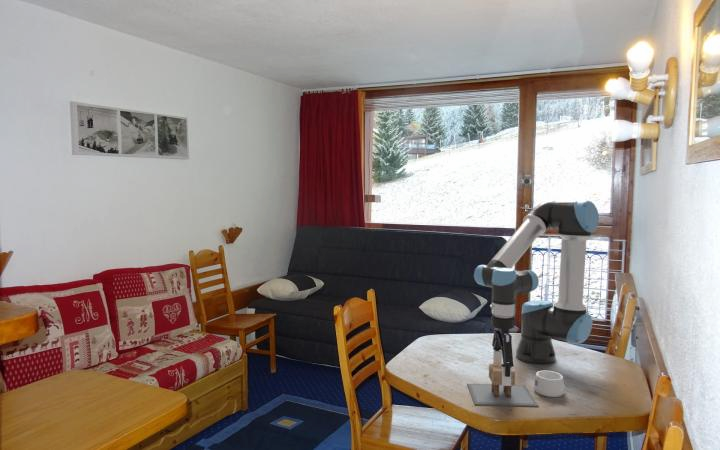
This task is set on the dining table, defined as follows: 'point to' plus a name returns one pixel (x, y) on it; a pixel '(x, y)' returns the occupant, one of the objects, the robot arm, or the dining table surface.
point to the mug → (549, 383)
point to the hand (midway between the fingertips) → (501, 377)
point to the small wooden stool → (499, 379)
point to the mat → (501, 396)
